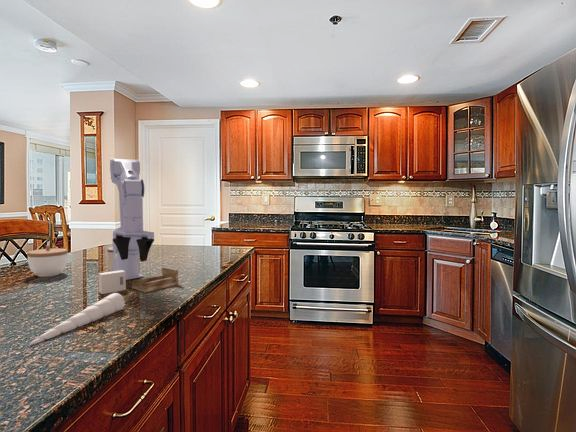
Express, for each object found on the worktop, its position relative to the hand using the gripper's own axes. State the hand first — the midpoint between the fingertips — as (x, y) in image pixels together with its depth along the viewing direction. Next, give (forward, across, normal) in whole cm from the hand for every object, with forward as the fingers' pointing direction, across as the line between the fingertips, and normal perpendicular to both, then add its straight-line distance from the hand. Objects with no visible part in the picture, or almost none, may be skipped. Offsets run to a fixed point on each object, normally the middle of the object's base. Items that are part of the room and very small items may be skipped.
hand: (133, 260), depth 108 cm
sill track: (+10, +4, +6) cm, 12 cm away
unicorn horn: (+10, +11, -27) cm, 31 cm away
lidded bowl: (+10, -46, +6) cm, 47 cm away
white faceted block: (+10, -5, -4) cm, 11 cm away
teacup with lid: (+10, -27, +22) cm, 36 cm away
